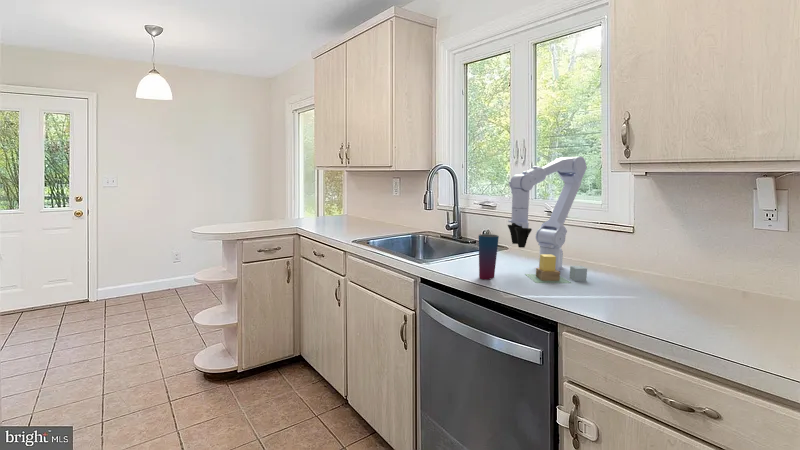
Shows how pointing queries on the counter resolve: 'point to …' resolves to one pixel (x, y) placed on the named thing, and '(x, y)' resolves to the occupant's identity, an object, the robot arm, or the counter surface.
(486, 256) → the cup
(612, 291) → the counter surface
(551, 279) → the base brick
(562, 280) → the baseplate
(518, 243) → the robot arm
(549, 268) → the mustard brick
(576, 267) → the brick
